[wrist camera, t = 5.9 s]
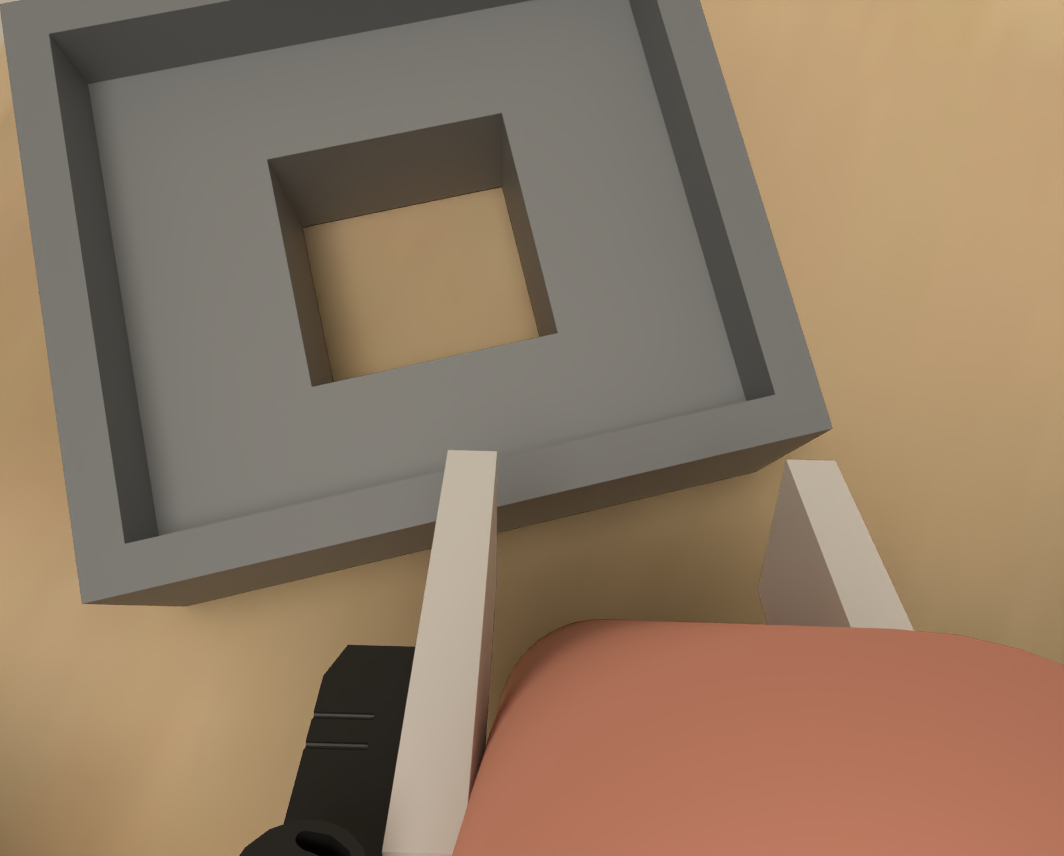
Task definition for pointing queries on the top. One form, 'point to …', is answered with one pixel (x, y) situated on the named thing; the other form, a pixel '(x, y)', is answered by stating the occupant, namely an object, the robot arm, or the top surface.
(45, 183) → the box
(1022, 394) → the top surface
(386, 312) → the top surface
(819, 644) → the peg
